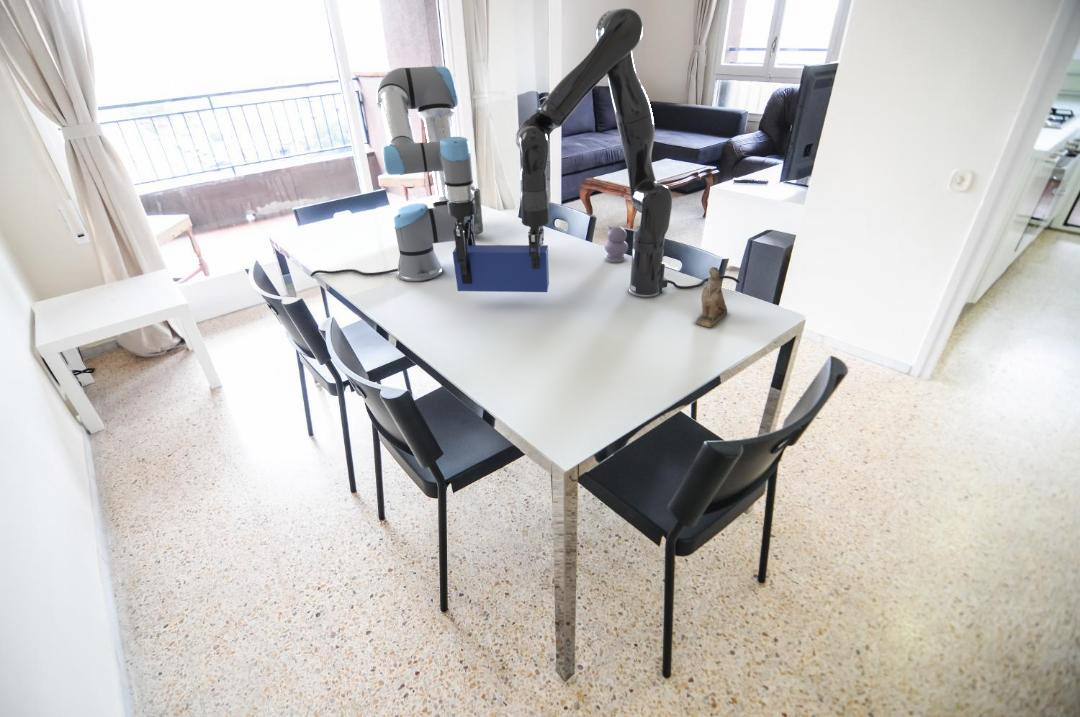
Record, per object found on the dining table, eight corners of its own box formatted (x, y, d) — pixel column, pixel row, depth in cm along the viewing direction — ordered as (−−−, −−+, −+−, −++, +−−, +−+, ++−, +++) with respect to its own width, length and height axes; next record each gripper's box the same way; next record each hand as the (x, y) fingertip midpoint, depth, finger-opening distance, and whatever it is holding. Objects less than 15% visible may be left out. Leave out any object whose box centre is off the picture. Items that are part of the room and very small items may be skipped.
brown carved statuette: (709, 335, 136) (713, 280, 124) (691, 329, 139) (693, 274, 128) (730, 313, 142) (736, 258, 130) (712, 307, 145) (716, 253, 133)
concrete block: (488, 238, 207) (483, 189, 196) (469, 243, 203) (464, 193, 192) (458, 224, 226) (452, 179, 215) (440, 228, 221) (434, 182, 211)
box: (457, 291, 147) (452, 252, 140) (462, 283, 151) (457, 244, 145) (547, 292, 144) (546, 252, 137) (548, 284, 149) (547, 245, 142)
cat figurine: (631, 259, 181) (633, 226, 175) (619, 265, 176) (620, 231, 170) (612, 254, 186) (614, 222, 180) (599, 259, 181) (600, 227, 175)
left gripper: (466, 209, 126) (475, 292, 139) (481, 190, 142) (488, 266, 155) (437, 209, 127) (449, 292, 140) (455, 190, 143) (464, 266, 155)
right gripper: (546, 213, 127) (548, 272, 136) (551, 199, 139) (552, 254, 148) (517, 213, 128) (521, 272, 137) (524, 199, 140) (527, 254, 149)
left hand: (469, 278), depth 147 cm, fingers closed on box, 6 cm apart
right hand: (537, 263), depth 142 cm, fingers open, 8 cm apart
